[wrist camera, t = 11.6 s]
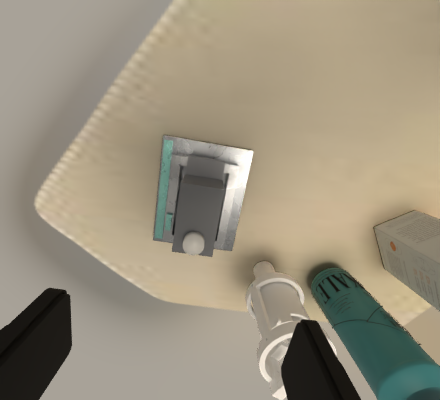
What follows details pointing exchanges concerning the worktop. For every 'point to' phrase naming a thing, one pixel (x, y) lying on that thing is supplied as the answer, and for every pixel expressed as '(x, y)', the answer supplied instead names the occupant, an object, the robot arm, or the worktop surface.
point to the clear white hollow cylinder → (275, 319)
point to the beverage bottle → (376, 340)
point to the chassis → (176, 170)
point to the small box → (413, 253)
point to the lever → (199, 206)
